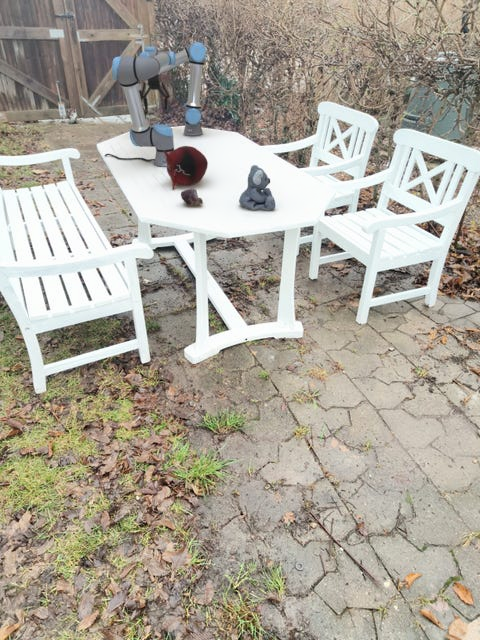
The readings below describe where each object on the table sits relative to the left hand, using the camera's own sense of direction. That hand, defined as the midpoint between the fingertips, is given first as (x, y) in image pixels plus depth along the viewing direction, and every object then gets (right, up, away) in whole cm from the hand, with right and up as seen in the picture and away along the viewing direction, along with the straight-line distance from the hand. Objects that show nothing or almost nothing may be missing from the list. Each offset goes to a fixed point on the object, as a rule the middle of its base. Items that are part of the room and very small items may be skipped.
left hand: (156, 109), depth 309 cm
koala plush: (+66, -87, -79) cm, 135 cm away
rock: (+32, -86, -77) cm, 120 cm away
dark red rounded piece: (+27, -66, -48) cm, 86 cm away
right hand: (-19, +5, +35) cm, 40 cm away
